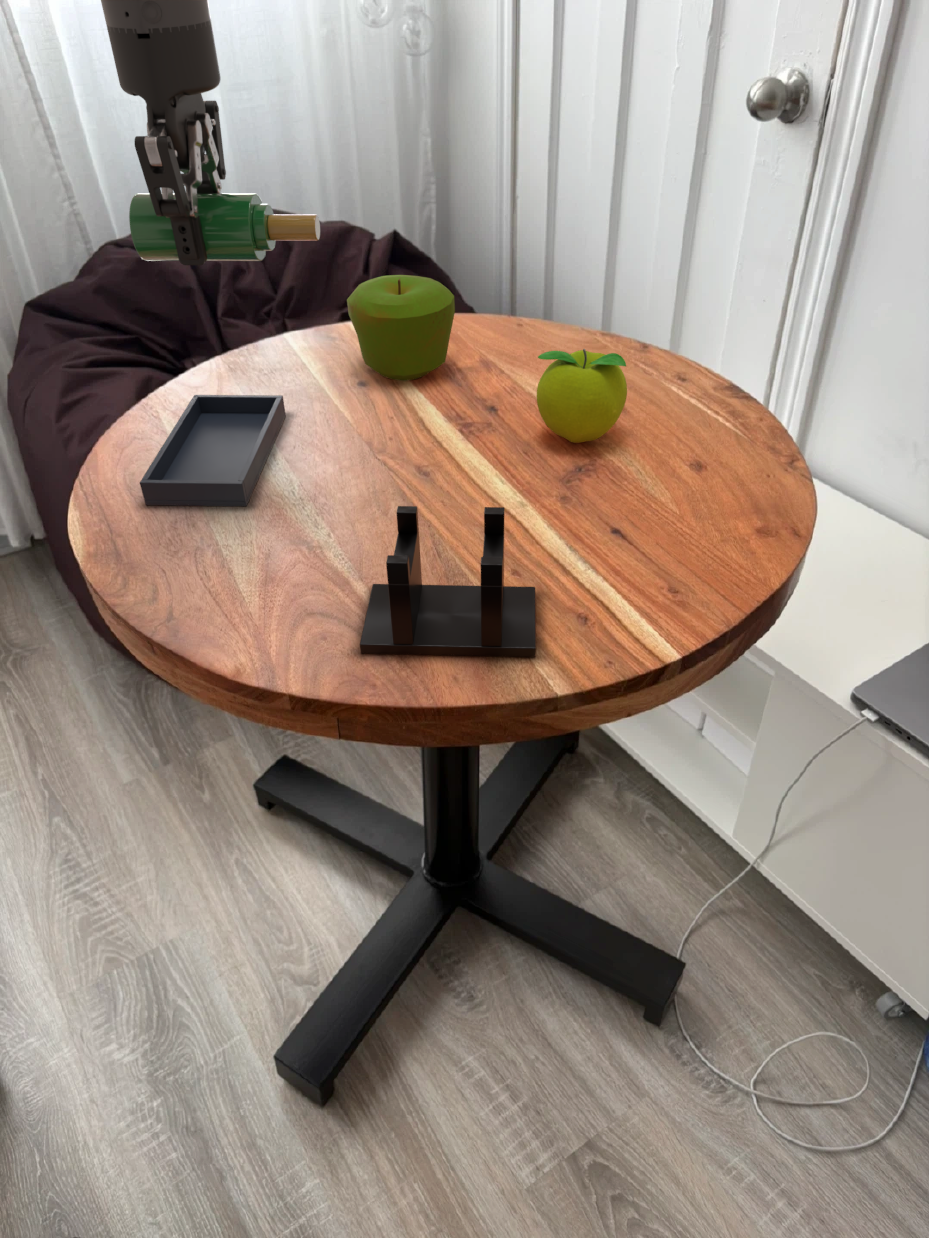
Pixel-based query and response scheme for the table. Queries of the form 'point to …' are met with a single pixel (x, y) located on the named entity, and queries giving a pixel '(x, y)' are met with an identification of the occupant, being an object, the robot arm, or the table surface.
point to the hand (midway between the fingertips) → (204, 251)
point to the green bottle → (220, 228)
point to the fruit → (581, 393)
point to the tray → (215, 451)
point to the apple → (402, 324)
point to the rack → (449, 603)
